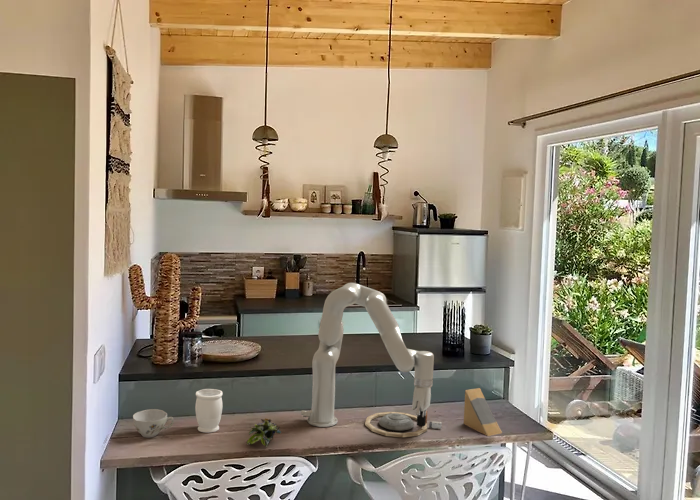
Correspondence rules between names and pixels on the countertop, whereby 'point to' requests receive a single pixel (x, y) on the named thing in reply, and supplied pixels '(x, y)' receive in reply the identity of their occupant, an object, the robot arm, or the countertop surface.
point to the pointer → (435, 425)
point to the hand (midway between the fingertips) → (420, 425)
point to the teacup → (151, 422)
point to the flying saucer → (396, 422)
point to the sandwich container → (479, 413)
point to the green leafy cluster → (263, 432)
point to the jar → (208, 409)
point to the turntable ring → (394, 432)
